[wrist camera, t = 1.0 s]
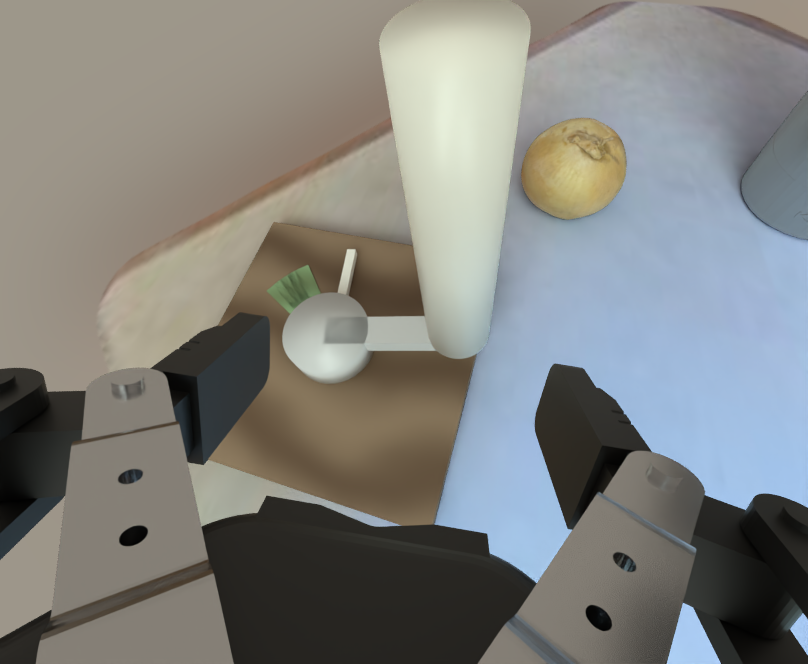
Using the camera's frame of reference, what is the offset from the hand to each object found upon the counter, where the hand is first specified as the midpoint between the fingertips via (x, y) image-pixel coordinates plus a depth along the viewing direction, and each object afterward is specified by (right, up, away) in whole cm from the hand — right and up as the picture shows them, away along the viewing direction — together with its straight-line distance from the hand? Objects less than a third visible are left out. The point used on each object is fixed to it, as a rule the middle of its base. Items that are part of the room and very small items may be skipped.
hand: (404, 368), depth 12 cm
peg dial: (-1, +1, +19) cm, 19 cm away
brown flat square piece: (-5, -1, +20) cm, 21 cm away
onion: (+14, +13, +24) cm, 31 cm away
